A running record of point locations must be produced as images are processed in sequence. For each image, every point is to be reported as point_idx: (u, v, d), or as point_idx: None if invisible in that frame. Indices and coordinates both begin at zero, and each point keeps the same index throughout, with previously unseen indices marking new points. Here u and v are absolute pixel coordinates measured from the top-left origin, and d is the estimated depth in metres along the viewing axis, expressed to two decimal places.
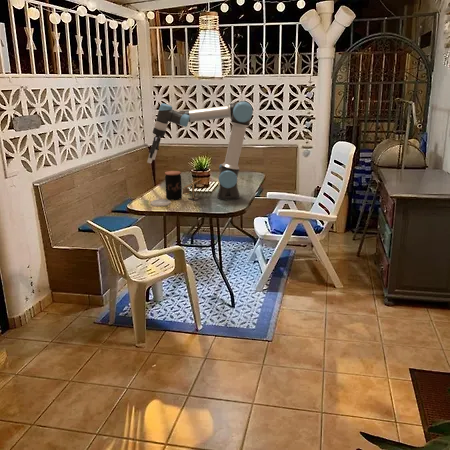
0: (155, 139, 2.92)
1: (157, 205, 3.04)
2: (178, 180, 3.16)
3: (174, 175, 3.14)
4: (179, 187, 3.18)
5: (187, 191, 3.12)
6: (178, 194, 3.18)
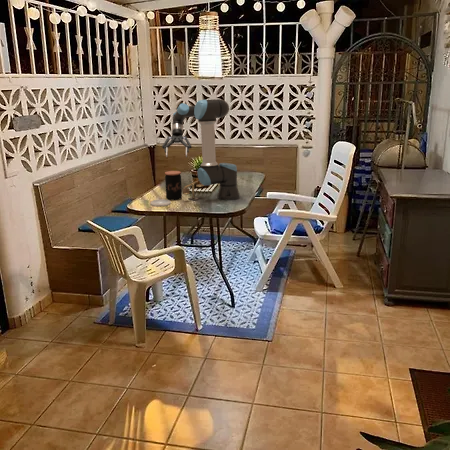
0: None
1: (157, 205, 3.04)
2: (178, 180, 3.16)
3: (174, 175, 3.14)
4: (179, 187, 3.18)
5: (187, 191, 3.12)
6: (178, 194, 3.18)
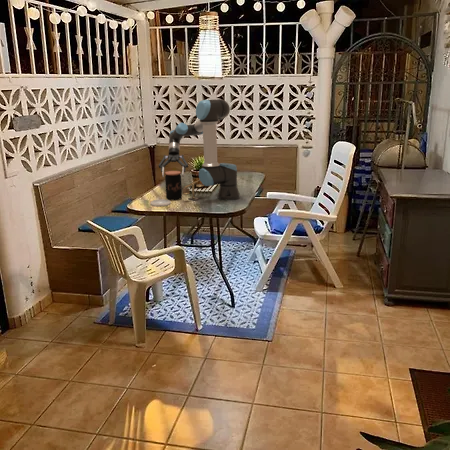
0: None
1: (157, 205, 3.04)
2: (178, 180, 3.16)
3: (174, 175, 3.14)
4: (179, 187, 3.18)
5: (187, 191, 3.12)
6: (178, 194, 3.18)
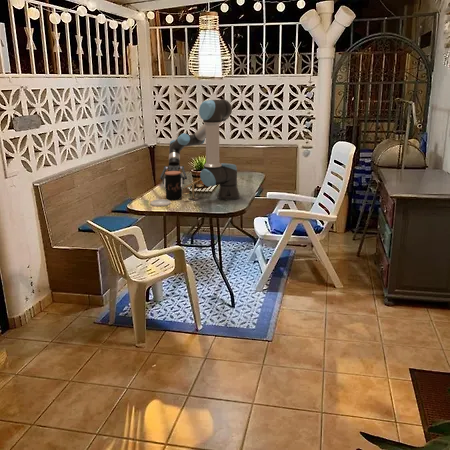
0: (164, 168, 3.25)
1: (157, 205, 3.04)
2: (178, 180, 3.16)
3: (174, 175, 3.14)
4: (179, 187, 3.18)
5: (187, 191, 3.12)
6: (178, 194, 3.18)
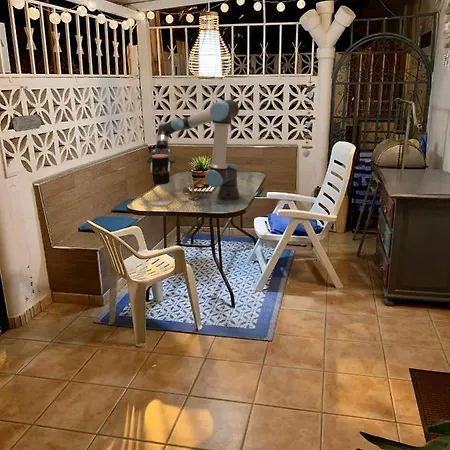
0: (151, 151, 3.13)
1: (157, 205, 3.04)
2: (165, 163, 3.03)
3: (161, 158, 3.01)
4: (166, 171, 3.05)
5: (187, 191, 3.12)
6: (165, 178, 3.06)
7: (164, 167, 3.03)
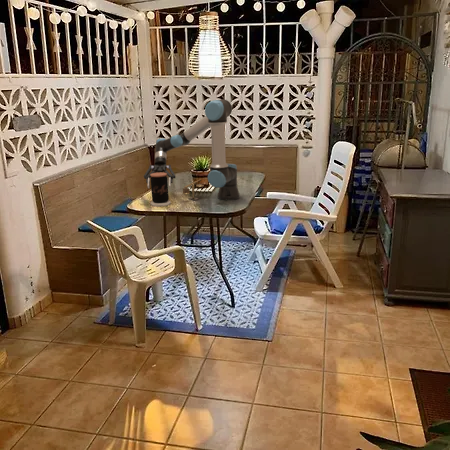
0: None
1: (157, 205, 3.04)
2: (164, 182, 3.02)
3: (160, 177, 3.00)
4: (165, 189, 3.04)
5: (187, 191, 3.12)
6: (164, 197, 3.05)
7: (163, 186, 3.02)
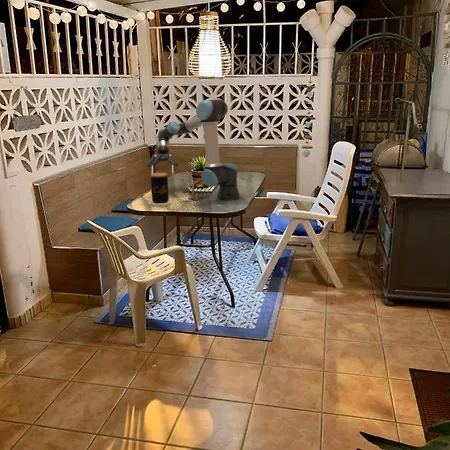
0: (153, 156, 3.25)
1: (157, 205, 3.04)
2: (164, 182, 3.02)
3: (160, 177, 3.00)
4: (165, 190, 3.04)
5: (187, 191, 3.12)
6: (164, 197, 3.05)
7: (163, 186, 3.02)
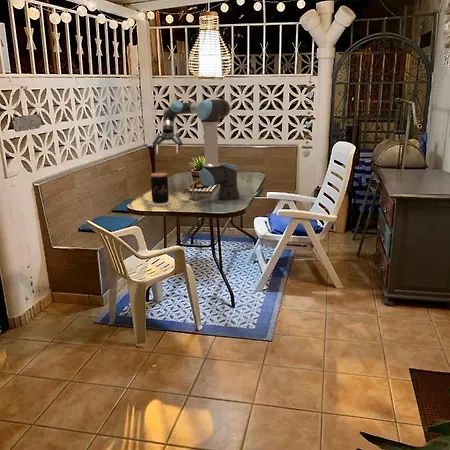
0: (158, 135, 3.28)
1: (157, 205, 3.04)
2: (164, 182, 3.02)
3: (160, 177, 3.00)
4: (165, 190, 3.04)
5: (187, 191, 3.12)
6: (164, 197, 3.05)
7: (163, 186, 3.02)
